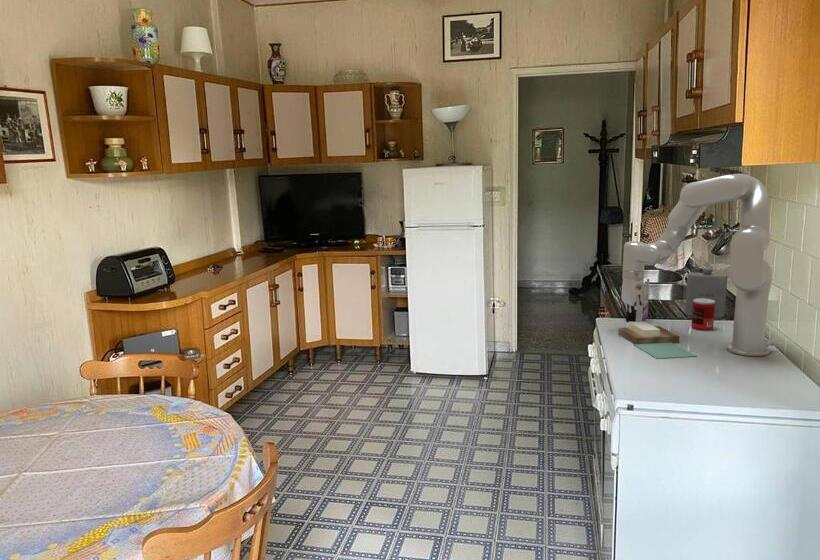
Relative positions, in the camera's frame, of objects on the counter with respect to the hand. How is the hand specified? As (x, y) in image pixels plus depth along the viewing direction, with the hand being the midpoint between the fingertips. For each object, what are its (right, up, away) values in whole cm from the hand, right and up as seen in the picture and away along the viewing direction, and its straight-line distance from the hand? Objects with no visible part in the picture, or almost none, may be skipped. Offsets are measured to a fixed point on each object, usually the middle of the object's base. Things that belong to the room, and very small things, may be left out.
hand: (630, 322), depth 240 cm
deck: (+3, -5, -9) cm, 11 cm away
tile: (+1, -3, -10) cm, 10 cm away
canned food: (+29, -3, +4) cm, 29 cm away
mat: (+3, -8, -24) cm, 25 cm away
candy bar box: (+10, 0, +19) cm, 21 cm away
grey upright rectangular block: (+39, +1, +23) cm, 45 cm away
